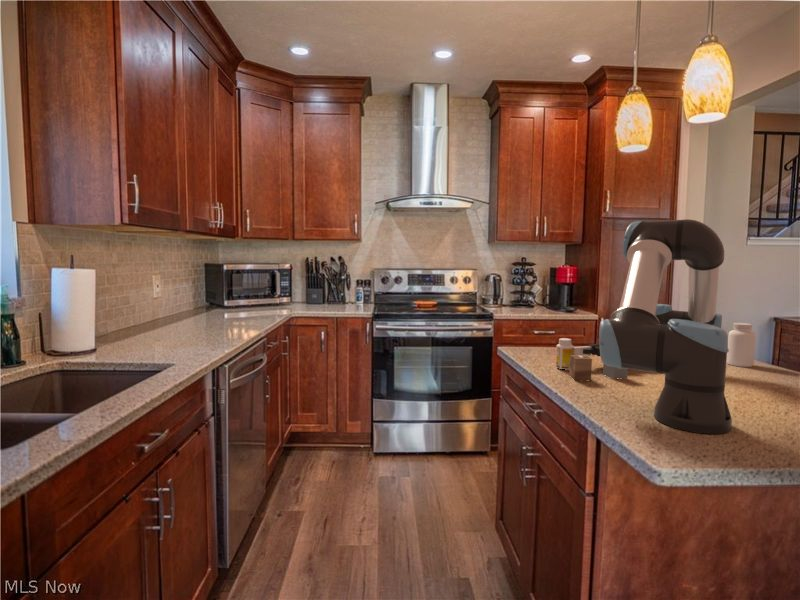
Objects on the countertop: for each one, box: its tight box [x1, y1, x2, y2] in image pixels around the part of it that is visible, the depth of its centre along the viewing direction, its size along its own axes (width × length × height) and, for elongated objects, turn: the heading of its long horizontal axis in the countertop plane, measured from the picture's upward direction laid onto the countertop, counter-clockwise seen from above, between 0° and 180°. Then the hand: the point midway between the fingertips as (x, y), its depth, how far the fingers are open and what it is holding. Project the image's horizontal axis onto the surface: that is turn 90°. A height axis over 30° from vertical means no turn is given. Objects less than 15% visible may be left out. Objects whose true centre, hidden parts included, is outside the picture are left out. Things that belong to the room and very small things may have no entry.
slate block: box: [602, 363, 629, 380], centre depth 146 cm, size 5×5×7 cm
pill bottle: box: [726, 322, 757, 368], centre depth 165 cm, size 8×8×15 cm
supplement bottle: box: [555, 337, 575, 371], centre depth 156 cm, size 6×6×10 cm
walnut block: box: [568, 355, 593, 381], centre depth 143 cm, size 5×5×7 cm
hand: (572, 351), depth 157 cm, fingers closed
